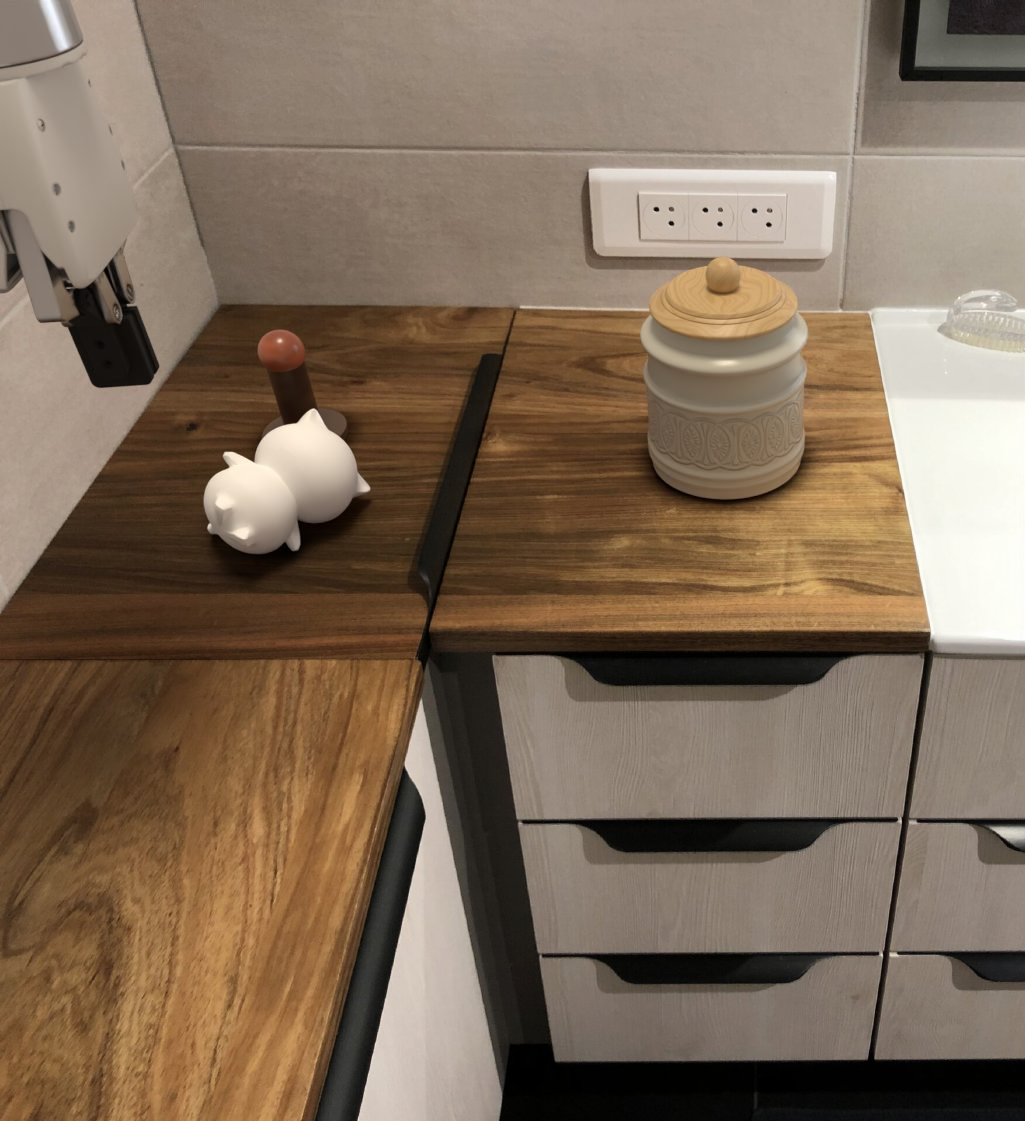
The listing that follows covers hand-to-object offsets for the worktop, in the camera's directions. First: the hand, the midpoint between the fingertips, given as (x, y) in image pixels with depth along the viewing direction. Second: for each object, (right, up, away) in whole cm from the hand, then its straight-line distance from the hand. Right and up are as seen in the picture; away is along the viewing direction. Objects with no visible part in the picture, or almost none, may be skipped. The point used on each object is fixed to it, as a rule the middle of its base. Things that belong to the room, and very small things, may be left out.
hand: (127, 378), depth 63 cm
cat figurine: (-1, -8, +24) cm, 26 cm away
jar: (+33, -2, +31) cm, 45 cm away
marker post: (-3, 0, +34) cm, 34 cm away
